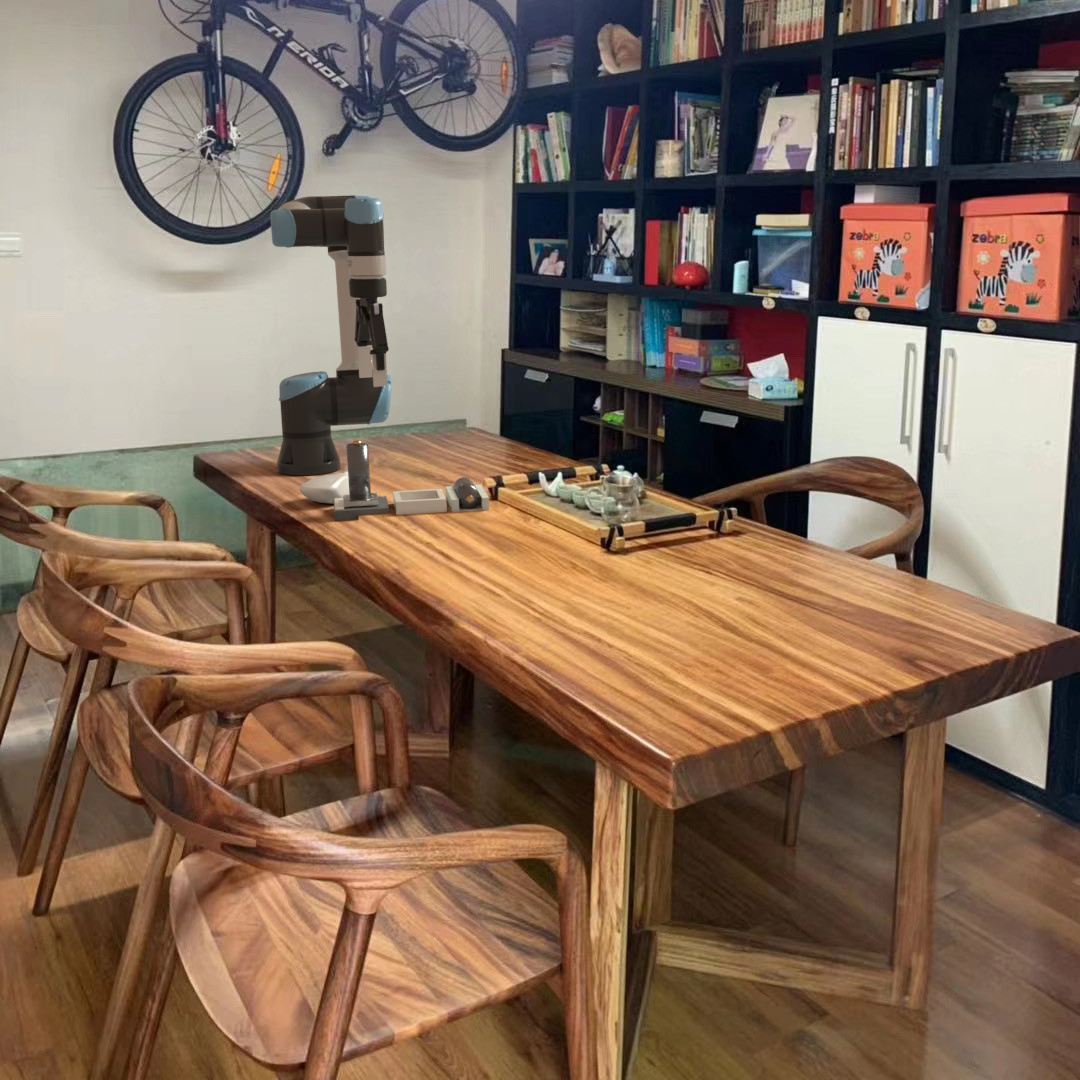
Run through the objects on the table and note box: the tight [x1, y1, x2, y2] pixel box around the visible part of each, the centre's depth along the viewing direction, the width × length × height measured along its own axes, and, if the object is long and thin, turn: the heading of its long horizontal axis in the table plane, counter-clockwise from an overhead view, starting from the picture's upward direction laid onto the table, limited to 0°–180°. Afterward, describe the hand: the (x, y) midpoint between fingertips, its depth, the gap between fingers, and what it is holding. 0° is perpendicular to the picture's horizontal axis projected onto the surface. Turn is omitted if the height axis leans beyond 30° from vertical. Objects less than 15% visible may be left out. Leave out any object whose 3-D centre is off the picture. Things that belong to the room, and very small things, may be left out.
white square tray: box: [392, 488, 448, 516], centre depth 249 cm, size 10×10×4 cm
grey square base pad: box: [333, 495, 390, 522], centre depth 249 cm, size 11×11×2 cm
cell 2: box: [453, 477, 481, 509], centre depth 251 cm, size 12×4×4 cm, turn 10°
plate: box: [343, 492, 379, 507], centre depth 248 cm, size 7×7×1 cm
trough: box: [445, 484, 490, 513], centre depth 251 cm, size 13×8×3 cm, turn 10°
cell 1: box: [346, 439, 372, 500], centre depth 247 cm, size 4×4×12 cm
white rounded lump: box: [298, 464, 349, 505], centre depth 260 cm, size 10×11×12 cm
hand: (373, 381), depth 249 cm, fingers open, 13 cm apart
